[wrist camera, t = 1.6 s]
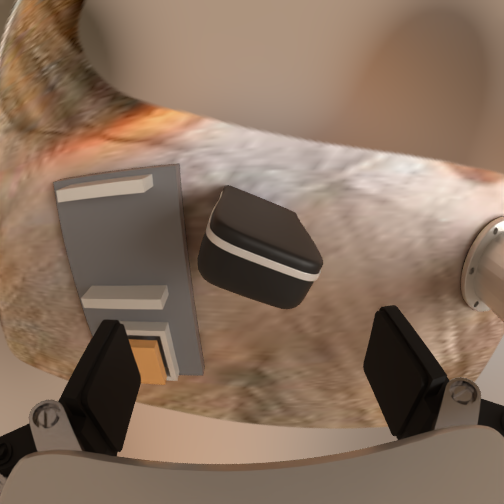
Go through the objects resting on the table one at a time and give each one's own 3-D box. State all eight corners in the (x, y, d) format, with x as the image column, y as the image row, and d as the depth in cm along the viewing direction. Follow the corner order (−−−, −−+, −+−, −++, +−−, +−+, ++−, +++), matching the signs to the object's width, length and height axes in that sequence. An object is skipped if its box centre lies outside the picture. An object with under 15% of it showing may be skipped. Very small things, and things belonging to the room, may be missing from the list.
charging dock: (179, 163, 24) (168, 169, 21) (204, 366, 33) (201, 391, 29) (61, 179, 24) (38, 188, 20) (109, 361, 33) (99, 384, 29)
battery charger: (207, 222, 26) (183, 287, 16) (223, 182, 25) (207, 222, 14) (280, 250, 27) (302, 327, 17) (299, 213, 26) (335, 272, 16)
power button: (156, 340, 27) (154, 348, 26) (167, 376, 29) (164, 384, 28) (110, 338, 27) (106, 345, 26) (124, 373, 29) (120, 381, 28)
